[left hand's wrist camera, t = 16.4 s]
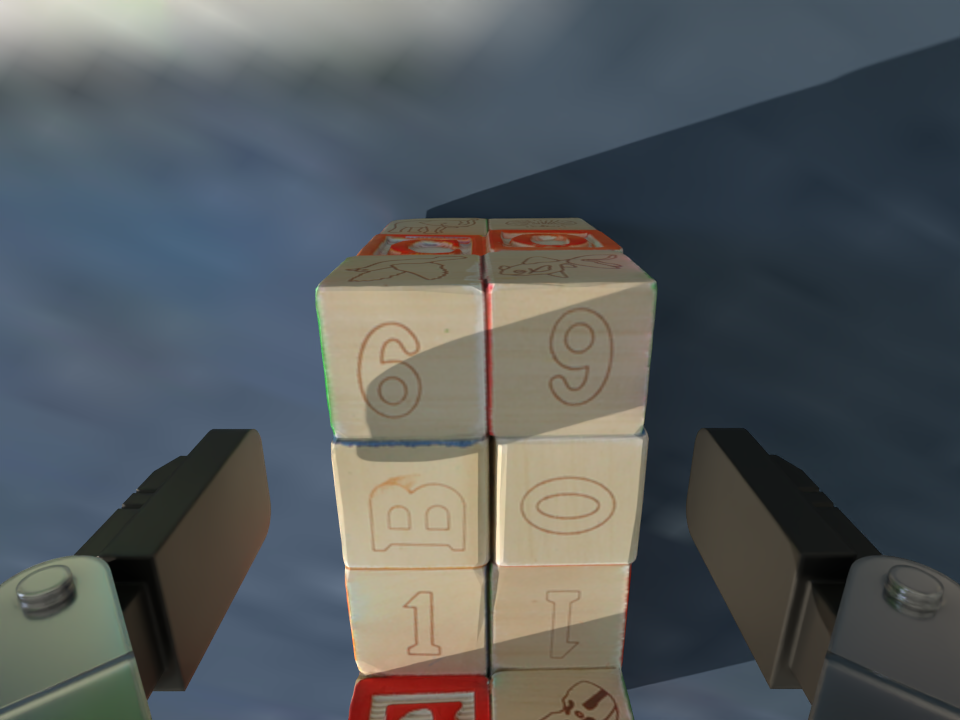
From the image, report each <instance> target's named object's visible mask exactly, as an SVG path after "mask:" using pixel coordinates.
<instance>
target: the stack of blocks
mask: <svg viewBox="0 0 960 720" xmlns="http://www.w3.org/2000/svg"><path fill="white" fill-rule="evenodd" d="M657 289H658V288H657V283H656V281H655V280H654V279H653V278H651V277H650V276H649V275H648V274H647V273H646V272H645V271H644V270H643V269H641V268H640V267H639V266H638V265H637V264H635V263H634V262H633V261H632V260H631V259H630V258H629V257H627V256H626V255H624V254H623V248H622V247H621V246H619V245H618V244H617V243H616V242H614V241H613V240H612V239H611V238H609V237H608V236H606V235H605V234H604V233H602V232H600V231H598V230H597V229H596V228H594V227H592V226H591V225H590V224H588V223H587V222H585V221H584V220H582V219H580V218H517V219H482V218H427V219H406V220H395V221H392V222H390V223H389V224H388V225H387V226H386V227H385V228H384V230H383V231H382V232H381V233H380V234H378V235H376V236H374V237H373V238H372V240H370V241H369V243H368V244H367V245H366V246H365V247H364V248H362V249H361V251H360V252H359V253H358V255H357V256H354V257H348V258H346V260H345V261H344V262H342V263H341V264H340V265H339V266H338V267H337V268H336V269H335V270H334V271H333V272H332V273H331V274H330V275H329V276H327V277H326V278H325V279H324V280H323V281H322V282H321V283H320V284H319V285H318V287H317V288H316V310H317V316H318V324H319V333H320V342H321V350H322V358H323V366H324V373H325V385H326V395H327V402H328V409H329V414H330V422H331V427H332V429H333V432H334V436H333V439H332V443H331V457H332V465H333V473H334V482H335V491H336V500H337V508H338V516H339V524H340V532H341V539H342V551H343V559H344V563H345V586H346V591H347V603H348V611H349V618H350V625H351V631H352V639H353V646H354V654H355V660H356V663H357V666H358V668H359V670H360V674H359V677H358V678H357V680H356V683H355V688H354V693H353V697H352V701H351V704H350V711H349V719H348V720H634V716H633V713H632V709H631V705H630V701H629V697H628V693H627V689H626V686H625V682H624V679H623V675H622V672H621V667H622V662H623V652H624V641H625V631H626V620H627V609H628V599H629V590H630V580H631V564H632V563H633V562H634V561H635V560H636V556H637V549H638V540H639V531H640V522H641V513H642V504H643V493H644V483H645V472H646V461H647V451H648V440H649V438H648V433H647V431H646V430H645V428H644V426H643V425H644V419H645V412H646V405H647V394H648V384H649V371H650V362H651V354H652V343H653V330H654V323H655V311H656V300H657Z"/></svg>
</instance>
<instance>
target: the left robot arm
mask: <svg viewBox="0 0 960 720" xmlns="http://www.w3.org/2000/svg"><path fill="white" fill-rule="evenodd" d="M270 515H271V504H270V496H269V489H268V482H267V476H266V469H265V462H264V455H263V448H262V442H261V438H260V435H259V433H258V431H257V430H255V429H212V430H210V431H209V432H208V433H207V434H206V435H205V437H204V438H203V439H202V440H201V441H200V442H199V443H198V444H197V445H196V447H195V448H194V449H193V450H192V451H191V452H190V453H189V454H188V456H179V457H178V458H176V459H174V460H173V461H171V462H169V463H167V464H166V465H164V466H162V467H161V468H159V469H157V470H155V471H154V472H153V473H152V474H151V475H150V476H149V477H148V478H147V479H146V480H145V481H144V482H143V483H142V484H141V485H140V486H139V488H138V489H137V492H136V493H133V494H132V495H131V496H130V497H129V498H128V499H127V500H126V501H125V502H124V503H123V504H122V509H118V510H117V511H116V512H115V513H114V514H113V515H112V516H111V517H110V518H109V519H108V520H107V521H106V522H105V523H104V524H103V525H102V526H101V527H100V528H99V529H98V530H97V531H96V533H95V534H94V535H93V536H92V537H91V538H90V539H89V540H88V541H87V542H86V543H85V544H84V545H83V546H82V547H81V548H80V549H79V550H78V551H77V552H76V553H75V555H74V556H66V557H61V558H56V559H52V560H49V561H46V562H43V563H40V564H37V565H35V566H32V567H30V568H28V569H26V570H23V571H21V572H20V573H18V574H16V575H14V576H12V577H11V578H9V579H8V580H6V581H5V582H3V583H2V584H1V585H0V720H152V718H151V714H150V710H149V707H148V703H147V700H148V698H149V696H150V695H151V693H152V691H185V690H186V688H187V686H188V684H189V682H190V680H191V678H192V676H193V675H194V673H195V671H196V669H197V667H198V665H199V663H200V661H201V659H202V657H203V656H204V654H205V652H206V650H207V648H208V646H209V644H210V642H211V640H212V638H213V637H214V635H215V633H216V631H217V629H218V627H219V625H220V623H221V621H222V619H223V618H224V616H225V614H226V612H227V610H228V608H229V606H230V604H231V602H232V600H233V599H234V597H235V595H236V593H237V591H238V589H239V587H240V585H241V583H242V581H243V580H244V578H245V576H246V574H247V572H248V570H249V568H250V566H251V564H252V562H253V561H254V559H255V557H256V555H257V553H258V551H259V549H260V547H261V545H262V543H263V542H264V540H265V538H266V535H267V532H268V528H269V524H270ZM686 516H687V523H688V528H689V532H690V535H691V537H692V539H693V541H694V543H695V545H696V547H697V549H698V550H699V552H700V554H701V556H702V558H703V560H704V562H705V564H706V566H707V568H708V570H709V572H710V574H711V575H712V577H713V579H714V581H715V583H716V585H717V587H718V589H719V591H720V593H721V595H722V597H723V599H724V600H725V602H726V604H727V606H728V608H729V610H730V612H731V614H732V616H733V618H734V620H735V622H736V624H737V625H738V627H739V629H740V631H741V633H742V635H743V637H744V639H745V641H746V643H747V645H748V647H749V649H750V650H751V652H752V654H753V656H754V658H755V660H756V662H757V664H758V666H759V668H760V670H761V672H762V674H763V675H764V677H765V679H766V681H767V683H768V685H769V687H770V689H803V691H804V693H805V694H806V696H807V698H808V700H809V701H810V703H811V705H812V707H811V710H810V714H809V718H808V720H960V585H959V584H958V583H957V582H955V581H954V580H952V579H951V578H949V577H948V576H946V575H944V574H942V573H940V572H939V571H937V570H934V569H932V568H930V567H928V566H925V565H923V564H920V563H917V562H914V561H911V560H908V559H904V558H899V557H894V556H886V555H882V554H881V553H880V552H879V551H878V550H877V549H876V548H875V547H874V546H873V545H872V544H871V543H870V541H869V540H868V539H867V538H866V537H865V536H864V535H863V534H862V533H861V532H860V531H859V530H858V529H857V528H856V527H855V526H854V525H853V524H852V522H851V521H850V520H849V519H848V518H847V517H846V516H845V515H844V514H843V513H842V512H841V511H840V510H839V509H838V508H837V507H834V506H833V502H832V501H831V500H830V499H829V498H828V497H827V496H826V495H825V494H824V493H823V492H819V488H818V487H817V485H816V484H815V483H814V482H813V481H812V480H811V479H810V478H809V477H808V476H807V475H806V474H805V473H804V472H803V471H802V470H801V469H799V468H797V467H796V466H794V465H792V464H791V463H789V462H787V461H785V460H784V459H782V458H780V457H779V456H777V455H769V454H768V453H767V452H766V451H765V450H764V449H763V448H762V447H761V445H760V444H759V443H758V442H757V441H756V440H755V439H754V438H753V436H752V435H751V434H750V433H749V432H748V431H747V430H746V429H744V428H702V429H700V430H699V431H698V433H697V436H696V439H695V445H694V452H693V459H692V466H691V473H690V480H689V487H688V494H687V501H686Z"/></svg>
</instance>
